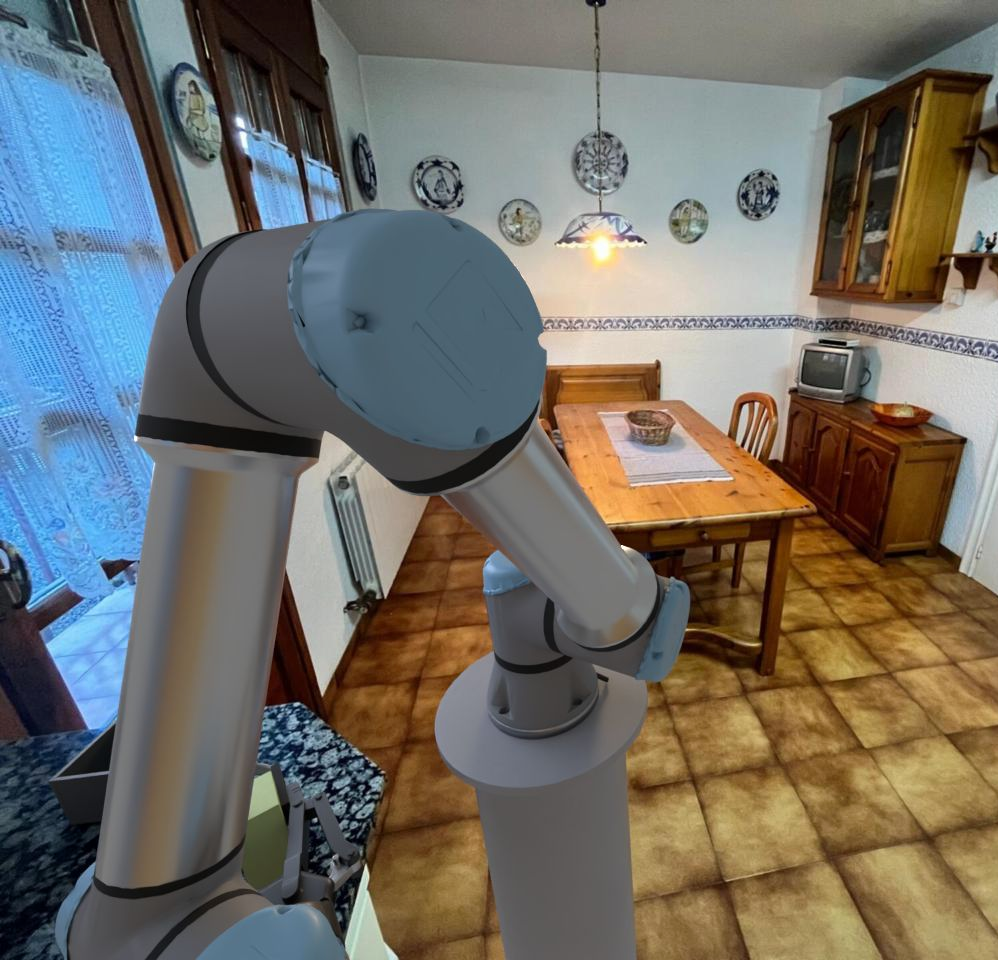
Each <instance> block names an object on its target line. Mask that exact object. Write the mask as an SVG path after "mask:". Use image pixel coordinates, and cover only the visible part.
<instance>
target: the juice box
mask: <svg viewBox="0 0 998 960" xmlns="http://www.w3.org/2000/svg"><path fill="white" fill-rule="evenodd" d="M288 827H289V826H287V823H286V820H285V817H284V815H283V812H282V809H281V806H280V801H279V797H278V793H277V789H276V785H275V782H274V779H273V776H272V773H271V771H269V772H267V773H265V774H263V775H261V776H257V777H254V783H253V790H252V797H251V803H250V810H249V817H248V823H247V830H246V836H245V849H244V855H243V862H242V869H241V870H242V873H243V875H244V877H245V881H246V882H247V883H248V884H250V885H251V886H252V887H253V888H254V889H255V890H258V889H261V888H263V887H265V886H268V885H270V884H271V883H272V882H274V881H275V880H276V879H277V878H278V877H280V876H281V875H283V871H284V861H285V860H286V854H287V840H288Z"/></svg>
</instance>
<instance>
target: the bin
mask: <svg viewBox="0 0 998 960" xmlns="http://www.w3.org/2000/svg"><path fill="white" fill-rule="evenodd" d="M116 720H117V718H116V719H115V720H114V721H113V722H112V723H110V725H108V726H107V727H106V728H105V729H104V730H103V731H102V732H101V733H99V735H97V736H96V737H95V738H94V739H93V740H92V741H90V743H88V744H87V745H86V746H85V747H84V748H83V749H82V750H81V751H80V752H79V753H78V754H76V756H74V757H73V758H72V759H71V760H70V761H68V763H67V764H66V765H64V766H63V767H62V768H61V770H59V771H58V772H57V773H56V774H54V775H53V776H52V777H51V778H50V779H49V780H47V782H48V785H49V786H50V788H51V790H52V792H53V794H54V796H55V798H56V800H57V802H58V803H59V805H60V807H61V809H62V811H63V813H64V815H65V816H66V819H67V820H68V822H69V824H70V826H76V825H82V824H83V825H84V824H92V823H99V822H102V816H103V809H104V803H105V796H106V789H107V782H108V775H109V768H110V761H111V755H112V748H113V741H114V734H115V727H116Z"/></svg>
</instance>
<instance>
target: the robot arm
mask: <svg viewBox="0 0 998 960" xmlns="http://www.w3.org/2000/svg"><path fill="white" fill-rule="evenodd" d="M544 332H545V329H544V323H543V319H542V315H541V312H540V309H539V306H538V304H537V301H536V299H535V296H534V294H533V292H532V290H531V288H530V286H529V284H528V282H527V281H526V279H525V277H524V276H523V274H522V272H521V271H520V269H519V268H518V266H517V265H516V264H515V262H513V261H512V259H511V258H510V257H509V255H508V254H507V253H506V252H505V251H504V250H503V249H502V248H501V246H499V245H498V244H497V243H496V242H494V241H493V240H492V239H491V238H490V237H489V236H487V234H485V233H483V232H482V231H480V230H479V229H477V228H476V227H474V226H472V225H471V224H469V223H467V222H466V221H463V220H461V219H458V218H456V217H451V216H448V215H446V214H444V213H440V212H437V211H432V210H425V209H403V210H396V209H389V208H372V207H371V208H361V209H356V210H351V211H350V210H349V211H347V212H346V211H345V212H341V213H339V214H337V215H336V216H334V217H332V218H328V219H327V218H326V219H321V220H315V221H310V222H303V223H297V224H291V225H287V226H281V227H275V228H269V229H268V228H259V229H253V230H247V231H240V232H236V233H231V234H228V235H226V236H223V237H221V238H219V239H217V240H214V241H213V242H211V243H209V244H207V245H205V246H203V247H202V248H201V249H199V250H198V251H197V252H196V253H195V254H194V255H193V256H191V258H189V259H188V260H187V261H186V262H185V263H183V265H182V266H181V267H180V269H178V270H177V272H176V273H175V275H174V277H173V278H172V281H171V282H170V284H169V285H168V286H167V288H166V290H165V292H164V295H163V297H162V300H161V303H160V305H159V308H158V311H157V314H156V317H155V321H154V325H153V329H152V332H151V336H150V340H149V343H148V348H147V353H146V360H145V366H144V371H143V372H144V373H143V376H142V382H141V383H142V384H141V389H140V396H139V403H138V409H137V418H136V425H135V431H134V439H133V440H134V442H135V444H137V445H138V446H139V448H141V450H143V451H144V452H145V453H146V454H147V455H148V456H149V457H150V458H151V460H152V462H153V467H152V473H151V474H152V475H151V481H150V487H149V494H148V501H147V510H146V514H145V523H144V528H143V536H142V543H141V549H140V556H139V563H138V569H137V570H138V571H137V577H136V584H135V590H134V597H133V604H132V610H131V611H132V612H131V618H130V626H129V631H128V637H127V638H128V639H127V644H126V653H125V659H124V667H123V672H122V679H121V686H120V693H119V701H118V707H117V715H116V719H117V720H116V719H115V720H116V727H115V734H114V741H113V748H112V755H111V761H110V768H109V775H108V782H107V789H106V796H105V803H104V809H103V816H102V821H101V823H100V830H99V838H98V845H97V851H96V858H95V861H94V862H93V863H91V865H89V867H88V868H87V869H86V870H85V871H84V872H83V873H82V874H81V875H80V876H79V877H78V879H77V881H76V883H75V885H74V887H72V889H71V891H70V892H69V893H68V895H67V896H66V898H65V899H64V900H63V901H62V902H61V905H60V907H59V909H58V912H57V916H56V919H55V927H54V934H55V935H54V936H55V941H56V943H57V946H58V949H59V950H60V952H61V954H62V956H63V960H351V959H350V956H349V953H348V952H347V950H346V942H345V939H344V935H343V932H342V928H341V925H340V922H339V918H338V915H337V912H336V909H335V908H336V903H337V899H338V890H339V889H340V888H341V887H342V886H343V885H344V884H345V883H346V881H348V880H349V879H354V880H355V879H357V878H360V876H361V875H363V873H364V870H365V867H364V862H363V860H362V856H361V853H360V850H359V847H357V846H356V845H355V844H353V843H351V842H350V841H348V840H347V839H346V838H345V836H344V833H343V831H342V829H341V826H340V824H339V821H338V819H337V817H336V815H335V813H334V810H333V808H332V806H331V805H332V804H331V803H330V800H329V799H328V798H329V797H328V796H327V793H326V792H325V791H319V792H317V793H316V794H314V795H313V797H312V798H309V799H305V798H304V794H303V791H302V788H301V784H300V782H299V781H297V780H294V781H293V782H291V783H289V784H286V780H285V776H284V774H283V772H282V768H281V766H280V763H279V762H276V763H274V764H272V765H271V766H270V767H271V771H272V775H273V779H274V782H275V785H276V789H277V793H278V797H279V801H280V806H281V809H282V812H283V815H284V817H285V820H286V823H287V826H289V827H288V840H287V854H286V860H285V861H284V871H283V875H281V876H280V877H278V878H277V879H276V880H275V881H274V882H272V883H271V884H270V885H268V886H265V887H263V888H261V889H258V890H255V889H254V888H253V887H252V886H251V885H250V884H248V882H247V880H246V879H244V877H243V870H242V862H243V855H244V849H245V836H246V830H247V823H248V817H249V810H250V803H251V797H252V790H253V783H254V779H255V778H256V777H255V776H256V775H255V770H256V763H258V756H259V750H260V749H259V748H260V742H261V735H262V730H263V723H264V716H265V708H266V703H267V695H268V690H269V682H270V676H271V669H272V661H273V656H274V650H275V649H274V648H275V644H276V643H275V641H276V635H277V629H278V621H279V616H280V609H281V602H282V596H283V589H284V581H285V575H286V569H287V561H288V554H289V549H290V542H291V535H292V530H293V529H292V528H293V523H294V522H293V521H294V516H295V509H296V501H297V494H298V489H299V481H300V478H301V476H302V474H304V473H305V472H307V471H309V470H310V469H311V468H312V467H314V466H316V465H317V464H319V461H320V457H321V456H320V455H321V449H322V442H323V439H324V434H325V432H327V433H329V434H331V435H332V436H334V437H336V438H337V439H339V440H340V441H342V442H343V443H344V444H345V445H346V446H348V447H349V448H350V450H352V451H354V452H355V453H356V455H358V456H359V457H361V458H362V460H364V461H365V462H366V463H368V465H369V466H371V467H372V468H373V469H374V470H376V471H377V472H378V473H379V474H380V475H381V476H382V477H383V478H385V479H386V480H387V481H388V482H389V483H390V484H391V485H392V486H394V487H395V488H397V489H398V490H400V491H401V492H403V493H405V494H409V495H411V496H415V497H436V496H441V498H442V499H444V500H445V501H446V502H447V503H448V504H449V505H450V506H451V507H452V508H453V509H454V510H455V511H457V513H458V514H459V515H461V516H462V517H463V519H465V520H466V521H467V523H469V524H470V525H471V526H472V527H473V528H474V529H475V530H477V532H478V533H479V534H481V535H482V537H484V538H485V539H486V540H487V541H488V542H489V543H490V544H491V545H492V546H493V547H494V548H496V550H495V551H494V552H493V553H491V554H490V555H489V557H487V559H485V562H484V564H483V568H482V576H483V577H482V578H483V579H482V580H483V589H482V592H483V596H484V601H485V607H486V614H487V619H488V627H489V632H490V636H491V637H490V638H491V644H492V650H493V651H494V656H495V660H494V664H493V669H492V673H491V677H490V682H489V686H488V691H487V707H488V713H489V717H490V719H491V721H492V723H493V724H494V725H495V726H496V728H498V729H499V730H500V731H502V732H503V733H505V734H507V735H509V736H512V737H515V738H520V739H530V740H531V739H544V738H549V737H554V736H557V735H560V734H562V733H565V732H567V731H569V730H571V729H573V728H574V727H576V726H577V725H579V724H580V723H581V722H583V721H584V720H585V719H586V718H587V717H588V716H589V715H590V713H591V712H592V711H593V709H594V707H595V706H596V703H597V701H598V697H599V684H598V679H600V680H602V681H604V682H608V681H609V678H608V677H606V676H604V675H601V674H599V673H597V672H596V670H595V668H594V666H593V664H594V665H597V666H600V667H603V668H606V669H609V670H612V671H615V672H619V673H622V674H625V675H628V676H631V677H634V678H635V679H636V680H640V679H641V680H645V681H646V682H650V683H659V682H661V681H664V680H665V679H666V678H667V677H668V676H669V674H670V672H671V671H672V669H673V668H674V665H675V663H676V661H677V659H678V656H679V654H680V651H681V648H682V644H683V641H684V638H685V634H686V630H687V626H688V620H689V615H690V608H691V593H690V589H689V586H688V584H687V583H685V581H682V580H680V579H679V580H678V579H676V578H675V576H670V578H669V577H665V576H661V575H659V574H657V573H656V571H655V569H654V568H653V567H652V565H651V563H650V562H649V561H648V560H647V558H646V557H645V556H644V555H642V554H641V553H640V552H639V551H637V550H636V549H634V548H631V547H628V546H625V545H621V543H620V541H618V539H617V537H616V536H615V535H614V532H612V530H611V529H610V527H609V526H608V525H607V523H606V521H605V520H604V519H603V517H602V516H601V514H600V513H599V511H598V509H597V508H596V506H595V505H594V503H593V502H592V500H591V499H590V497H589V496H588V494H587V493H586V491H585V490H584V489H583V487H582V486H581V484H580V482H579V481H578V479H577V478H576V476H575V475H574V473H573V472H572V471H571V468H569V466H568V464H567V463H566V461H565V460H564V459H563V457H562V455H561V454H560V452H559V451H558V449H557V448H556V447H555V445H554V444H553V442H552V440H551V439H550V437H549V436H548V434H546V432H545V430H544V429H543V427H542V425H541V424H540V423H539V421H538V420H539V417H540V413H541V410H542V405H543V404H542V402H543V394H542V393H543V389H544V385H545V379H546V374H547V367H548V366H547V365H548V351H547V348H545V347H543V346H542V345H541V343H540V341H539V337H540V336H541V335H542V334H544ZM314 819H317V821H318V823H319V826H320V828H321V831H322V833H323V836H324V839H325V841H326V844H327V846H328V849H329V851H330V854H331V856H332V857H331V859H332V860H331V862H330V865H329V868H330V871H331V872H330V875H329V876H325V875H319V874H316V873H313V872H309V852H310V825H312V821H311V820H314Z"/></svg>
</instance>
